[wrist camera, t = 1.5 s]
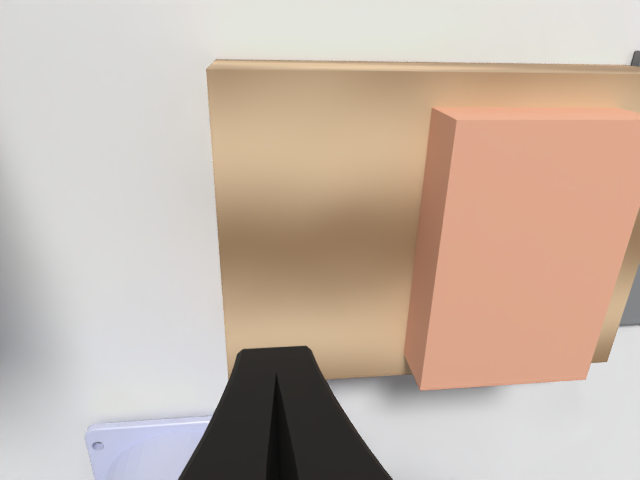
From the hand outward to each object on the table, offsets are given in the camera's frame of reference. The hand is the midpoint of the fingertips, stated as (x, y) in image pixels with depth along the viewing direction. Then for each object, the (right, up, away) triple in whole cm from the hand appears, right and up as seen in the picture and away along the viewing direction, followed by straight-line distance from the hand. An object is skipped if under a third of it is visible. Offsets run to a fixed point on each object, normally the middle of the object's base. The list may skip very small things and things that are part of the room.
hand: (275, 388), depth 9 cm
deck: (+5, +4, +10) cm, 12 cm away
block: (+7, +3, +7) cm, 10 cm away
